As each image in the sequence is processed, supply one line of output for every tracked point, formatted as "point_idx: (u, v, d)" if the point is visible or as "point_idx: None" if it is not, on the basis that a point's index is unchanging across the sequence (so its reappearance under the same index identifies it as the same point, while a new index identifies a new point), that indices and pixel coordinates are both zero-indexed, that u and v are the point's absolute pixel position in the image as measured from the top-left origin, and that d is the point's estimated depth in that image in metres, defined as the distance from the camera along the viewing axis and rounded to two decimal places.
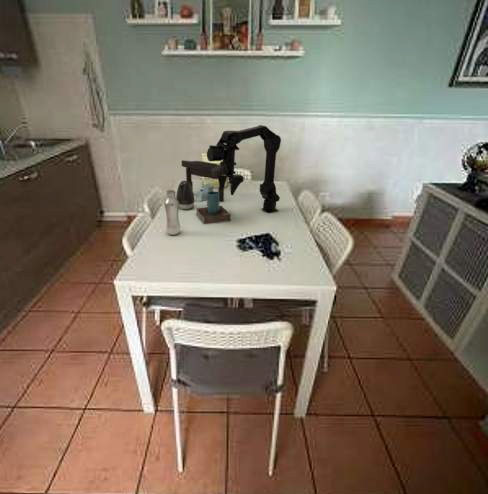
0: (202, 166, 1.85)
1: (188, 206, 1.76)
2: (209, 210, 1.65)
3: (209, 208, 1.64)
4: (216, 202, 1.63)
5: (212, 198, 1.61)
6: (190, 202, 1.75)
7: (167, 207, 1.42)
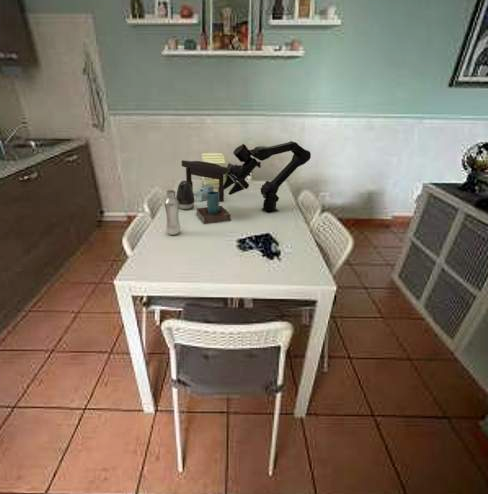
0: (202, 166, 1.85)
1: (188, 206, 1.76)
2: (209, 210, 1.65)
3: (209, 208, 1.64)
4: (216, 202, 1.63)
5: (212, 198, 1.61)
6: (190, 202, 1.75)
7: (167, 207, 1.42)
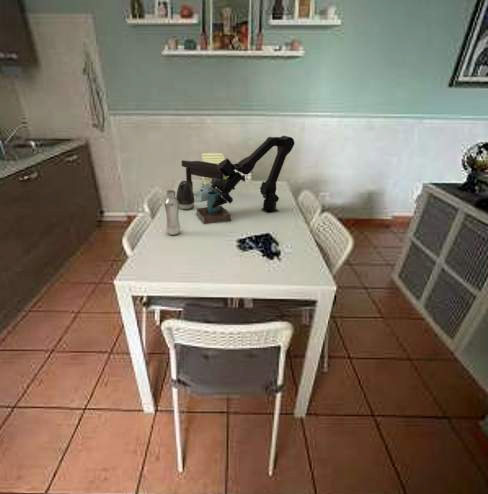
0: (202, 166, 1.85)
1: (188, 206, 1.76)
2: (209, 210, 1.65)
3: (209, 208, 1.64)
4: None
5: (212, 198, 1.61)
6: (190, 202, 1.75)
7: (167, 207, 1.42)
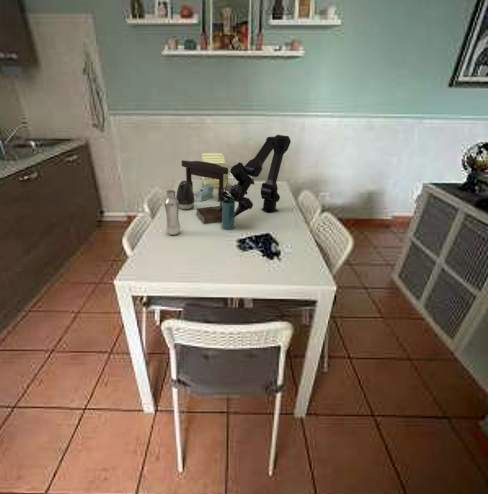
0: (202, 166, 1.85)
1: (188, 206, 1.76)
2: (227, 220, 1.53)
3: (227, 218, 1.52)
4: (233, 211, 1.52)
5: (230, 207, 1.50)
6: (190, 202, 1.75)
7: (167, 207, 1.42)
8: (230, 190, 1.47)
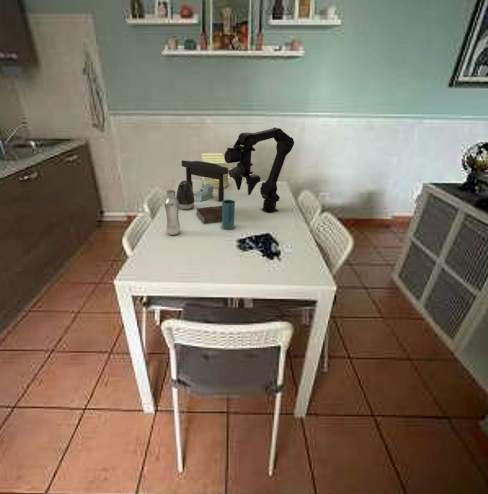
0: (202, 166, 1.85)
1: (188, 206, 1.76)
2: (227, 220, 1.53)
3: (227, 218, 1.52)
4: (233, 211, 1.52)
5: (230, 207, 1.50)
6: (190, 202, 1.75)
7: (167, 207, 1.42)
8: (233, 177, 1.55)
